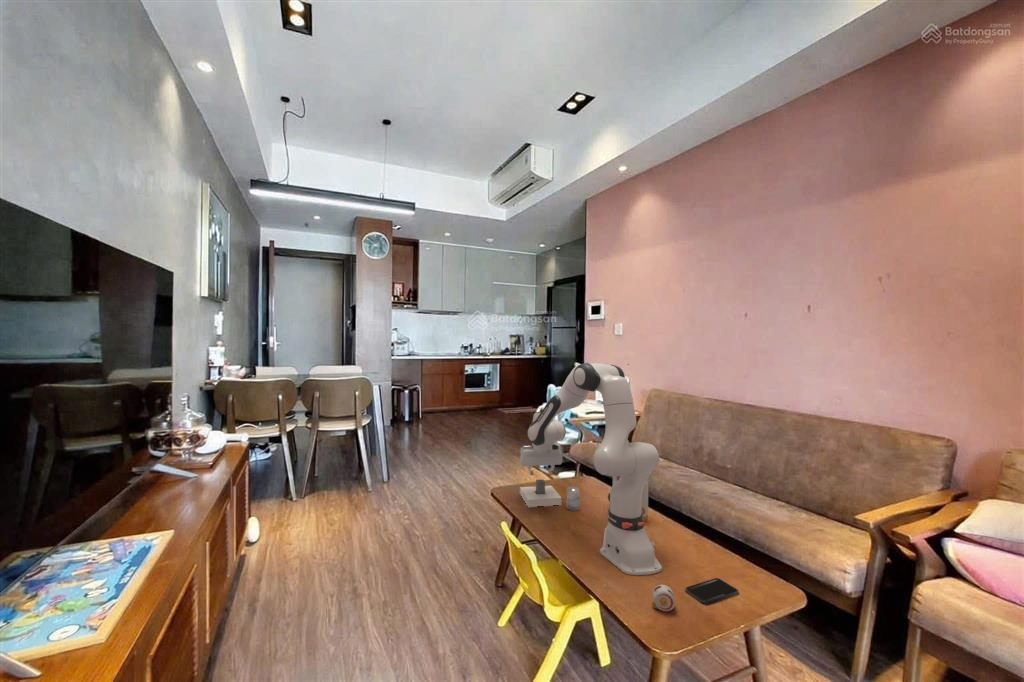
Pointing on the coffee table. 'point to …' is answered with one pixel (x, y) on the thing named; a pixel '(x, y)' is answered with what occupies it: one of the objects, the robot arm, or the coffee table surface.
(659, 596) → the roller toy
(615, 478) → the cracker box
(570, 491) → the round peg
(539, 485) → the square peg
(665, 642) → the coffee table surface
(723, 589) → the phone
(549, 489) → the socket block
